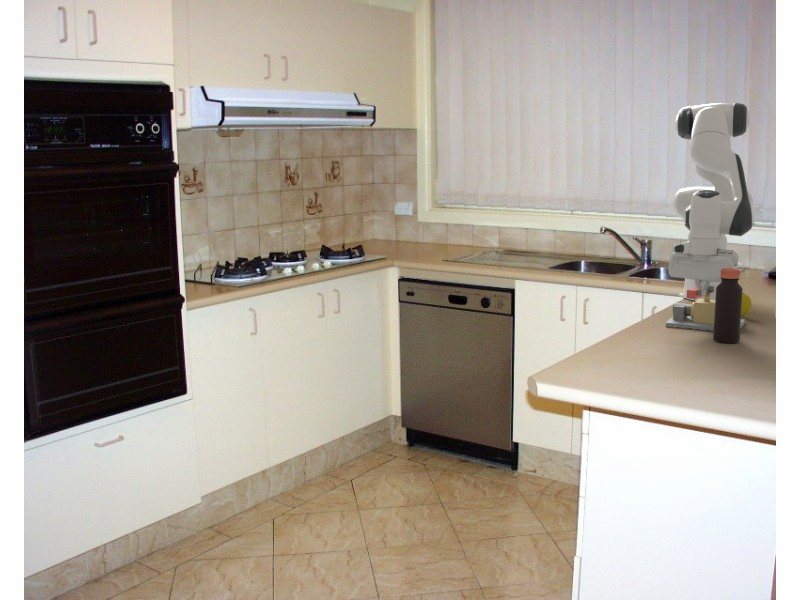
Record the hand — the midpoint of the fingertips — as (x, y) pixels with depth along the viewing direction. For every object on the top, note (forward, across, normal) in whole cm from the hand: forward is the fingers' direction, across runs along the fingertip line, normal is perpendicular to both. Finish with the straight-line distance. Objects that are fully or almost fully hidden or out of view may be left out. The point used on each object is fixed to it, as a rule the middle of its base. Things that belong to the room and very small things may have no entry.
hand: (701, 295), depth 241 cm
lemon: (+10, +2, -27) cm, 29 cm away
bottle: (+11, -11, +5) cm, 16 cm away
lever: (+1, +3, -4) cm, 5 cm away
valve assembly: (+10, +4, -10) cm, 15 cm away
